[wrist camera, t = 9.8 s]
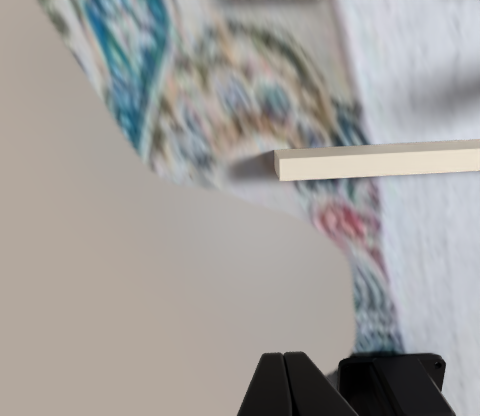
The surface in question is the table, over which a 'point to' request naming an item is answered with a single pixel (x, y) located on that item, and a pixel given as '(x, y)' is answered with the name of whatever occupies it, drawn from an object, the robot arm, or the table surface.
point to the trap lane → (377, 160)
